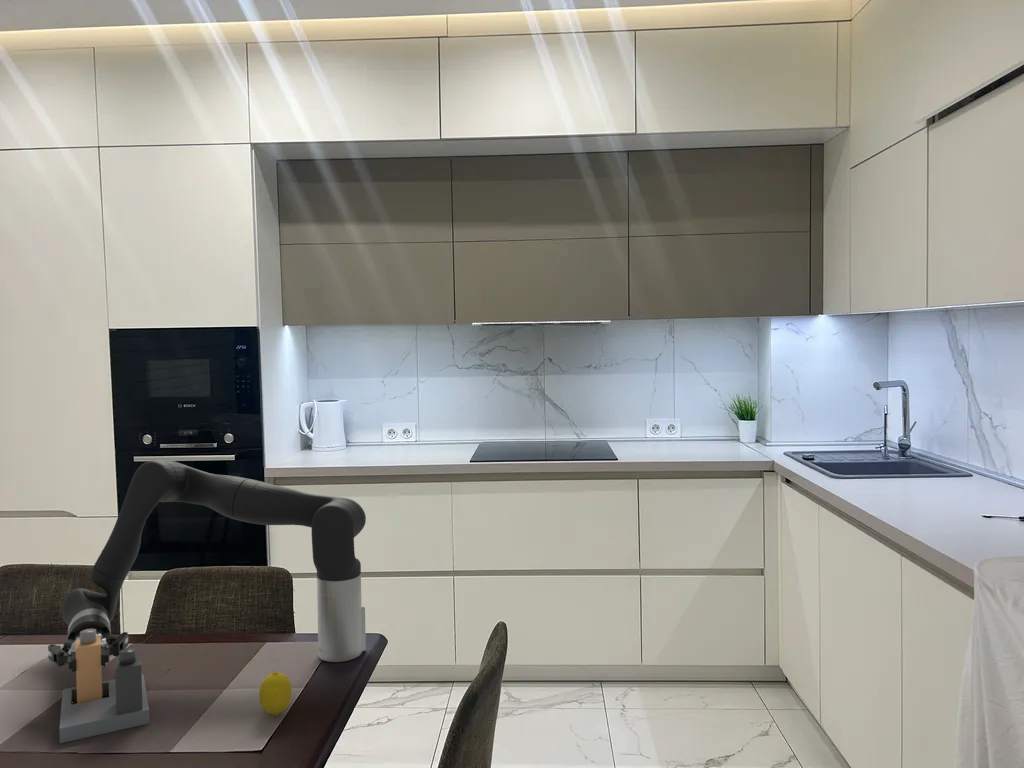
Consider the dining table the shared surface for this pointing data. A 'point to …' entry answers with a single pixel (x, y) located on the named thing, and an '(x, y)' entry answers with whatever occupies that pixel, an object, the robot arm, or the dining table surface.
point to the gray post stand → (108, 703)
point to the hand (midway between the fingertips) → (88, 663)
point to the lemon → (275, 693)
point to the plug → (88, 666)
